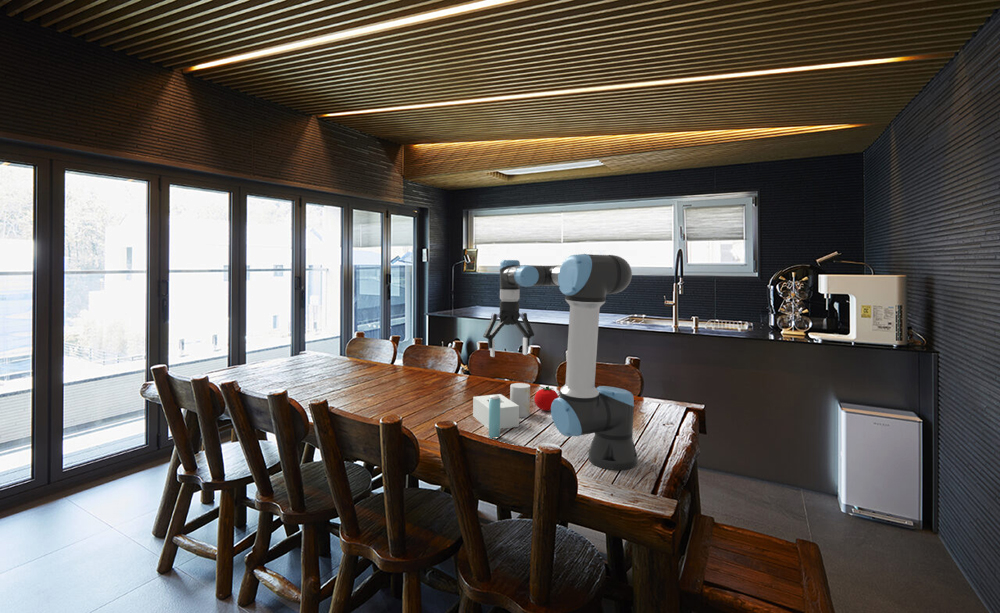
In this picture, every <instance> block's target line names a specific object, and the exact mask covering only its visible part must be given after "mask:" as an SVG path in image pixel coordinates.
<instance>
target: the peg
mask: <svg viewBox="0 0 1000 613" xmlns="http://www.w3.org/2000/svg"><path fill="white" fill-rule="evenodd" d="M490 395H491V396H490V398H489V429H488V438H489V439H491V438H493V437H500V438H501V429H500V398H499V396H498V395H496V394H490ZM489 436H490V437H489ZM493 440H497V439H496V438H493Z"/></svg>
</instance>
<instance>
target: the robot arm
mask: <svg viewBox="0 0 1000 613" xmlns="http://www.w3.org/2000/svg"><path fill="white" fill-rule="evenodd" d="M632 278H633V272H632V268H631V265H630V263H629V262H628V261H627V260H626V259H624V258H623V257H621V256H619V255H614V254H587V253H581V254H579V253H578V254H573V255H569V256H568V257H566V258H565V259H564V261H563V262H562V264H561V265H560V264H559V265H557V264H556V265H533V264H531V265H530V264H529V265H528V264H521V262H520V260H518V259H503V260H501V261H500V265H499V300H500V301H499V313H494V312H493V313H491V317H490V318H491V319H490V321H489V322H488V325H487V327H486V329H485V331H484V334H483V338H485V339H487V346H488V348H489V350H490V351H489V354H490V355H489V356H490V357H492V358H495V352H496V349H495V348H496V345H495V344H496V343H495V342H496V340H495V339H494V338H495V337H496V335H497V334H499V332H500V330H501V329H502V328H503V327H504V326H509V325H512V326H514V325H515V326H516V327H517V329H518V330H519V331H520V332H521V334H522V335H523V336H524V337H522V354H523V355H524V356H528V347H529V346H530V339H531V338H532V337H534V336H535V333H534V331H533V329H532V326H531V324H530V321H529V320H528V313H527V312H521V313H520V290H521V287H525V288H526V287H527V288H528V287H556V286H557V287H558V288H559V291H560V292H561V293H562V294H563V295H565V298H564V300H565V301H566V303H567V304H568V305H569V314H568V315H569V318H568V334H567V335H568V337H567V352H566V353H567V355H566V357H567V358H566V369H565V370H566V372H565V384H564V385H563V386H561V387H560V388H559V390H560V391H559V398H556V399H554V401H553V402H552V405H551V410H550V413H551V419H552V421H553V423H554V426H555V428H556V429H557V431H558V432H559V433H560V434H561V435H562V436H564V437H580V436H585V435H590V434H594V436H593V439H592V441H591V445H590V448H589V450H588V456H587V457H588V458H587V459H588V461H589V462H590V463H591V464H592V465H595V466H597V467H599V468H602V469H605V470H606V469H607V470H611V471H612V470H614V471H615V470H616V471H625V470H626V471H627V470H630V469H633V468H635V467H637V465H638V453H637V449H636V447H635V443H634V439H633V438H634V437H633V435H634V433H633V431H634V430H633V429H634V413H635V405H634V404H635V403H634V400H635V399H634V394H633V393H632V392H631V391H629V390H627V389H625V388H621V387H615V386H609V385H608V386H607V385H599V386H597V387H596V384H595V383H596V369H597V368H596V367H597V356H598V355H597V351H598V339H599V338H598V337H599V323H600V308H601V307H602V306H603V305H604V304H605V303H606V298H607V295H613V294H619V293H621V292H623V291H624V290H625V289H627V287H628V286H629V285H630V284H631V281H632ZM498 319H500V320H499V321H498V322H497V324H496V321H497V320H498ZM519 319H521V320H522V322H523V325H524V326H523V325H522V324H521V322H520V321H519ZM495 324H496V325H495ZM494 326H495V327H494ZM525 328H526V329H525Z"/></svg>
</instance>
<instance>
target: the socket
mask: <svg viewBox="0 0 1000 613" xmlns="http://www.w3.org/2000/svg"><path fill="white" fill-rule="evenodd" d="M491 395H492V394H487V395H478V396H473V398H472V416H473V418H474V419H476V420H477V421H478V422H479V423H480V424H482V425H483V426H484V427H485V428H486V429H487V428H488V430H489V398H490V396H491ZM495 395H498V396H499V398H500V430H502V429H501V428H503V429H509V428H515V427H516V428H518V427H520V417H519V405H517V404H515V403H514V402H512V401H511V400H510V398H507V397H506V396H504V395H503V394H502V393H497V394H495Z"/></svg>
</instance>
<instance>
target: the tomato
mask: <svg viewBox="0 0 1000 613" xmlns="http://www.w3.org/2000/svg"><path fill="white" fill-rule="evenodd" d="M556 398H560V395H559V394H558V393H557V392H556V390H554V387H551V388H550V386H549V385H548V386H545V387H542V386H540V389H538V390H537V391H536V393H535V394H534V404H535V405H536V406H537V408H538V409H539V410H541V411H547V412H548V411H551V405H552V402H553V401H554V399H556Z"/></svg>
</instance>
